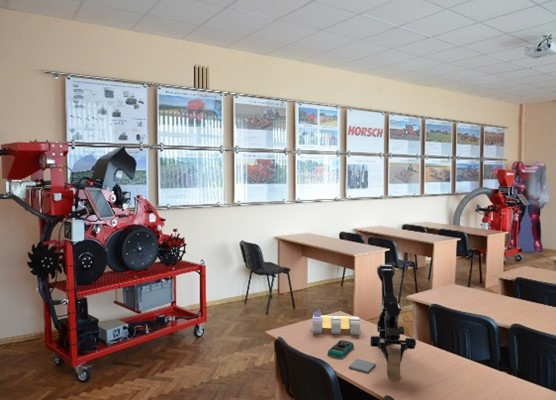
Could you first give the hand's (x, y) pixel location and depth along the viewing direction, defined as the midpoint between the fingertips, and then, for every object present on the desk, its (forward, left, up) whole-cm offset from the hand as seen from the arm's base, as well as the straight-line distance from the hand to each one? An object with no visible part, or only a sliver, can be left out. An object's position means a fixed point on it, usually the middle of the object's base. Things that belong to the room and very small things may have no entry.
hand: (394, 362), depth 177 cm
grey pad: (+2, -15, -7) cm, 16 cm away
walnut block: (-1, -1, -7) cm, 7 cm away
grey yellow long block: (-22, -50, -7) cm, 55 cm away
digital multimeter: (-4, -32, -7) cm, 33 cm away
